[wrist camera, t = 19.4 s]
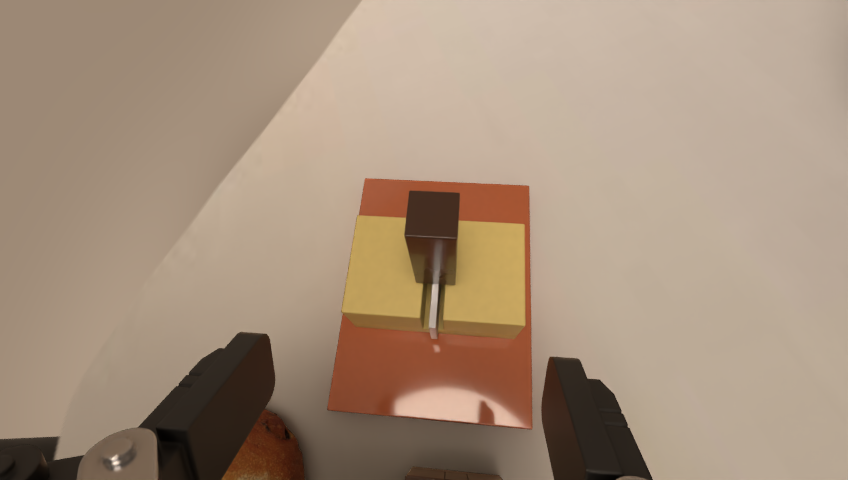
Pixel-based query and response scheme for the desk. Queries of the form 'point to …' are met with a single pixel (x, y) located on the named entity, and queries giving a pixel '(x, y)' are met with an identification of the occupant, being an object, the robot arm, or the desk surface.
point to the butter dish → (439, 336)
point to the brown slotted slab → (446, 475)
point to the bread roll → (267, 453)
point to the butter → (461, 303)
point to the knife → (433, 243)
